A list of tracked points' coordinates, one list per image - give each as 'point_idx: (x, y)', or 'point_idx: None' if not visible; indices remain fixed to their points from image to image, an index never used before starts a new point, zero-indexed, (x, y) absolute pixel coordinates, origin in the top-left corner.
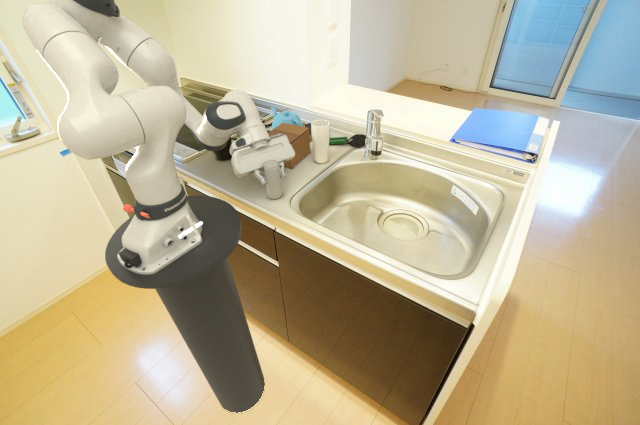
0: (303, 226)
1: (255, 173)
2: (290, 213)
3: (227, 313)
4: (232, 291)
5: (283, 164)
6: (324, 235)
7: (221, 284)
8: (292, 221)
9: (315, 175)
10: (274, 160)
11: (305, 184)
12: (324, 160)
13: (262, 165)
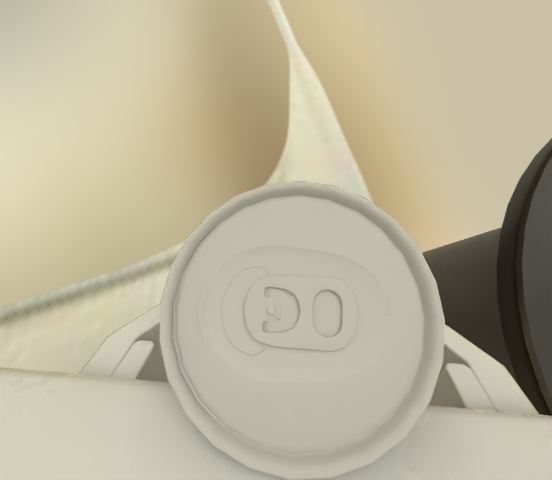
0: (308, 66)
1: (508, 379)
2: (306, 147)
3: (438, 247)
4: (433, 258)
5: (113, 338)
6: (278, 4)
7: (488, 233)
8: (326, 106)
9: (34, 321)
10: (176, 378)
11: (124, 284)
12: None
13: (418, 424)
